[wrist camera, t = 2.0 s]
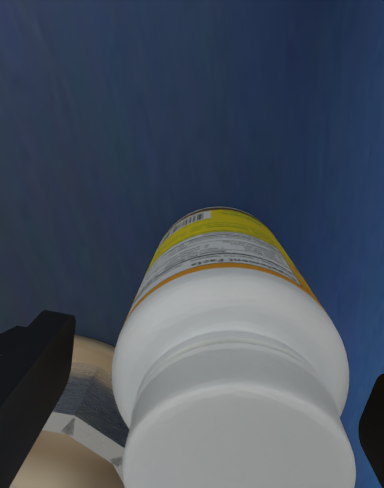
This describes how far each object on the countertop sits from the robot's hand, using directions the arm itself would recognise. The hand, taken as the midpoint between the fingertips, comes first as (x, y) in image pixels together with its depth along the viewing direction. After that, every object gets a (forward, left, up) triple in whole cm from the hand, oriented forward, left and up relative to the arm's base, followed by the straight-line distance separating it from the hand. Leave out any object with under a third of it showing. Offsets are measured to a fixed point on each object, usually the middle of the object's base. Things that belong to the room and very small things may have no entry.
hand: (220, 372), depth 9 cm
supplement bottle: (0, 0, -7) cm, 7 cm away
